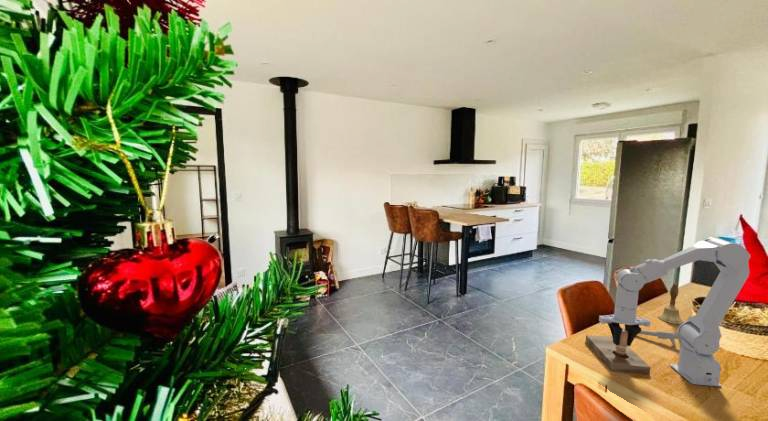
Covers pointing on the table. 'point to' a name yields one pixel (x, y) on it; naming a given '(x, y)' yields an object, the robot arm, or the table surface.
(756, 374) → the table surface
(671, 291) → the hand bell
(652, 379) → the table surface
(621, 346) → the peg
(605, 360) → the board
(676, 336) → the caliper
